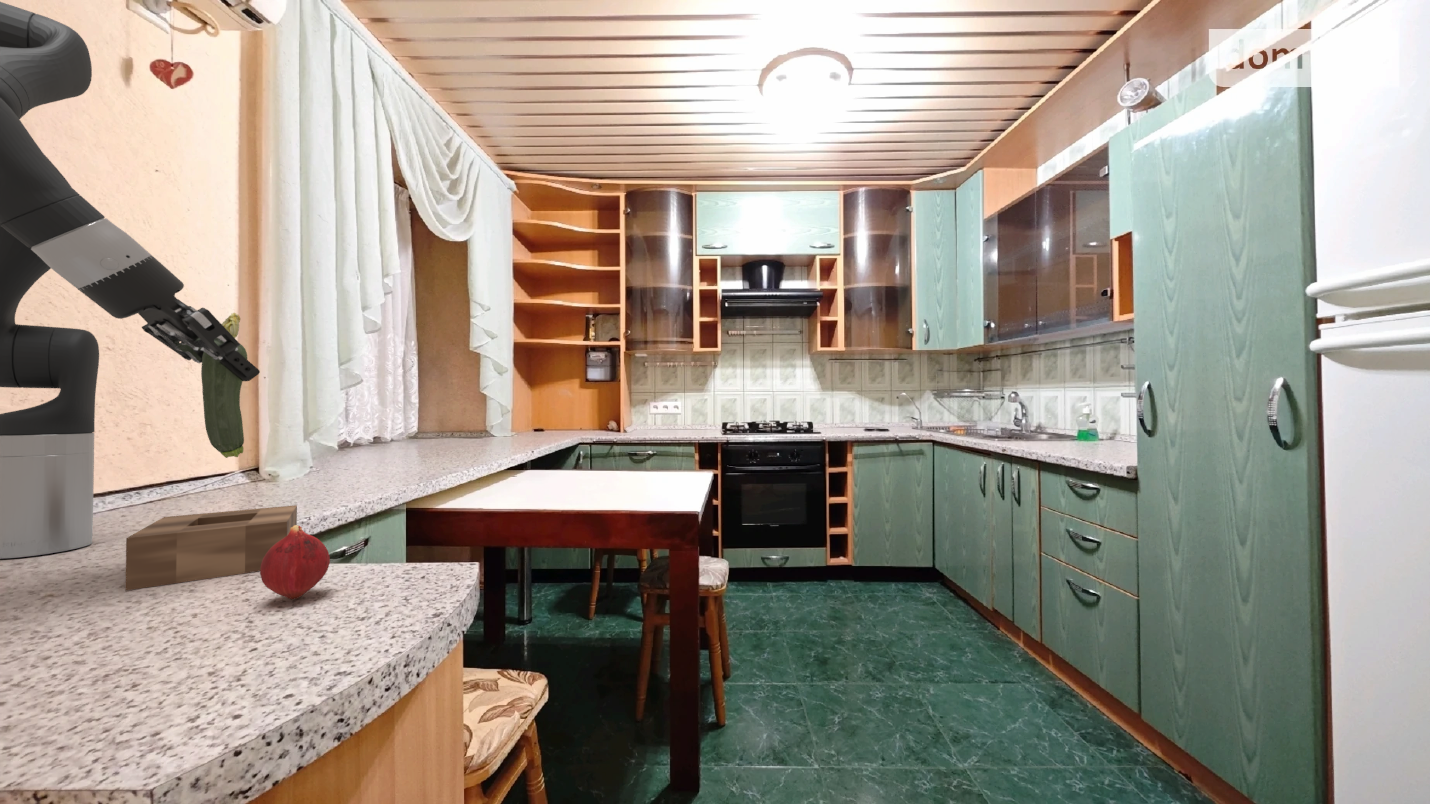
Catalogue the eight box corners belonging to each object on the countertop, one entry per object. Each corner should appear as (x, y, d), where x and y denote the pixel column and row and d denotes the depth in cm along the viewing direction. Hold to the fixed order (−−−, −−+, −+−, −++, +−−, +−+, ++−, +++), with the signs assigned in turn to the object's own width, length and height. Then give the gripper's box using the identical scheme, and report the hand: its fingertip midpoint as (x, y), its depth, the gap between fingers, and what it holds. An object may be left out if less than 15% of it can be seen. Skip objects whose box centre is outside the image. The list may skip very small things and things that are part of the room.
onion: (340, 594, 55) (341, 522, 55) (277, 613, 50) (278, 534, 50) (311, 586, 58) (312, 518, 58) (248, 603, 52) (249, 528, 52)
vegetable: (214, 460, 64) (219, 307, 64) (188, 459, 64) (194, 307, 65) (252, 457, 68) (257, 313, 68) (228, 455, 69) (233, 314, 69)
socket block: (163, 560, 68) (164, 516, 68) (296, 543, 76) (296, 505, 76) (125, 590, 56) (126, 538, 56) (286, 567, 65) (287, 521, 65)
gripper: (171, 244, 57) (294, 358, 68) (124, 260, 63) (244, 363, 74) (98, 278, 52) (244, 395, 63) (55, 292, 58) (194, 397, 69)
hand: (243, 377), depth 68 cm, fingers closed on vegetable, 4 cm apart
